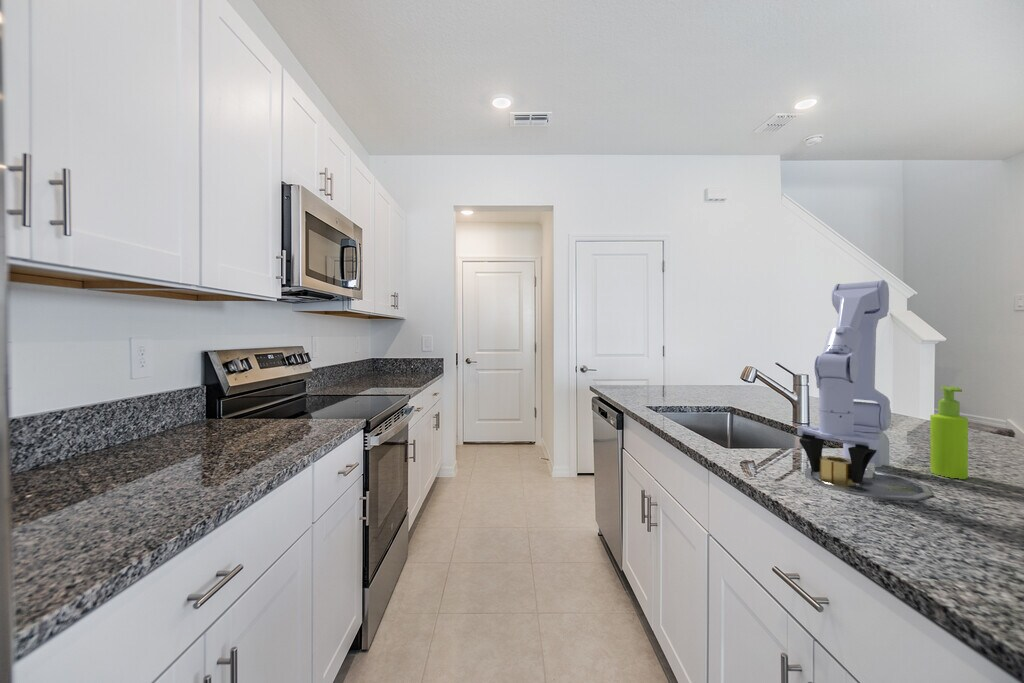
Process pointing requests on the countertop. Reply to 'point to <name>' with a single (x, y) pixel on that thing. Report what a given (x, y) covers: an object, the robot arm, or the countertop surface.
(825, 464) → the gear
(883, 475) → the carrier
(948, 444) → the soap dispenser
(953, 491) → the countertop surface
